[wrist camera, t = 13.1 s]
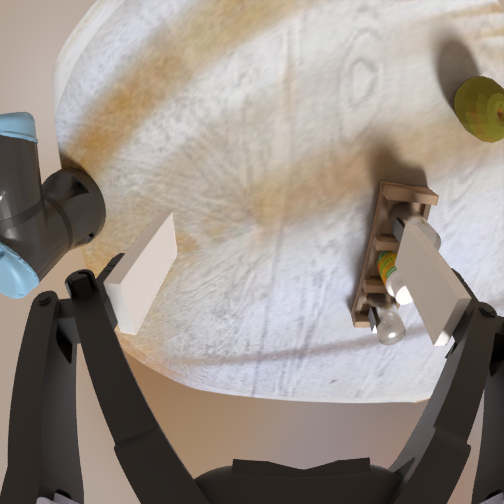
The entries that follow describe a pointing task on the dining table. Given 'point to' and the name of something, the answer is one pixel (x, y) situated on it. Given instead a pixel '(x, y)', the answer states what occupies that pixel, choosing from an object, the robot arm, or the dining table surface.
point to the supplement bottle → (392, 277)
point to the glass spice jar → (385, 318)
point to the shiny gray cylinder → (411, 222)
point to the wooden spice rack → (386, 241)
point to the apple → (481, 108)
